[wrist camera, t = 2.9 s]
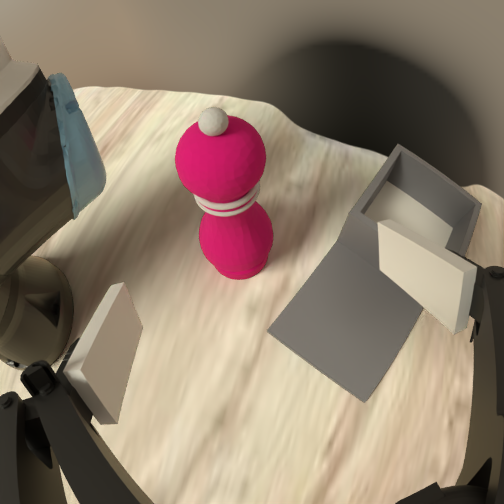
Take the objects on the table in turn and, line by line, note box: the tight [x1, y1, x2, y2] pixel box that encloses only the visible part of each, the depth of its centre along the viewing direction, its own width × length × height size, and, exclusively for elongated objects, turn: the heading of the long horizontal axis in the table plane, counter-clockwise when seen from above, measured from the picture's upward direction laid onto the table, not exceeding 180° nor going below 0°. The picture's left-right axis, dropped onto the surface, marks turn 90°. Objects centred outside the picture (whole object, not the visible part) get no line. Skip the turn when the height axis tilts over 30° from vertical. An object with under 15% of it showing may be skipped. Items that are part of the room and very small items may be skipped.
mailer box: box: [267, 144, 482, 403], centre depth 29 cm, size 13×25×7 cm, turn 141°
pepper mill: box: [175, 107, 273, 280], centre depth 25 cm, size 7×7×20 cm
